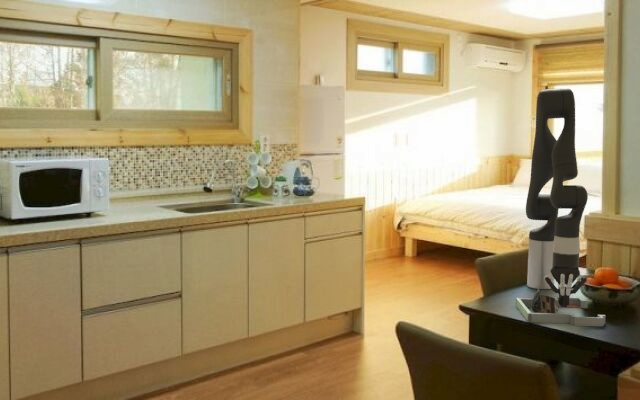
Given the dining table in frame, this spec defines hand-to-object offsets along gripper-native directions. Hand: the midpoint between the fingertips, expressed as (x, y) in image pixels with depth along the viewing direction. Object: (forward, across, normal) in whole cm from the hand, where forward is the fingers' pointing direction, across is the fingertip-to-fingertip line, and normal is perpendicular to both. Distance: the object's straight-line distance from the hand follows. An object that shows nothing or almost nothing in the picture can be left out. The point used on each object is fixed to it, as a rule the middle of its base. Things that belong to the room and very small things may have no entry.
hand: (563, 306), depth 207 cm
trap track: (+3, +1, 0) cm, 3 cm away
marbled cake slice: (+3, +5, 0) cm, 6 cm away
